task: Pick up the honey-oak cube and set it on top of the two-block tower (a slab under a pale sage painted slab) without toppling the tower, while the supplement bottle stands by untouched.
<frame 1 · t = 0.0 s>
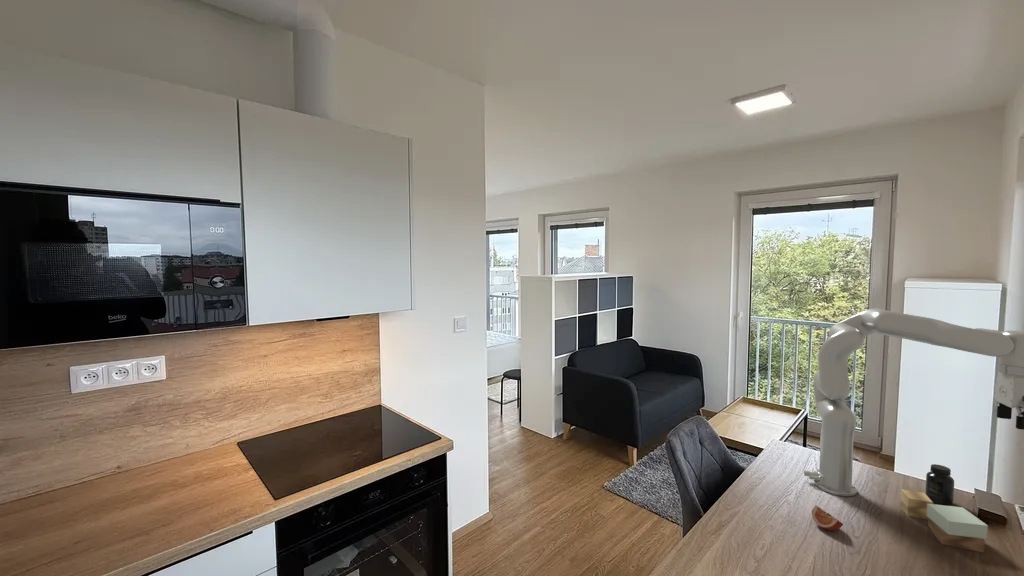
hand: (1013, 423, 133), 31 cm above the table, fingers open, 9 cm apart
fruit slice: (826, 528, 132), on the table
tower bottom: (954, 540, 126), on the table, touching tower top
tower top: (955, 526, 126), point 4 cm above the table, touching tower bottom
oak cube: (915, 513, 139), on the table
supplement bottle: (938, 501, 146), on the table
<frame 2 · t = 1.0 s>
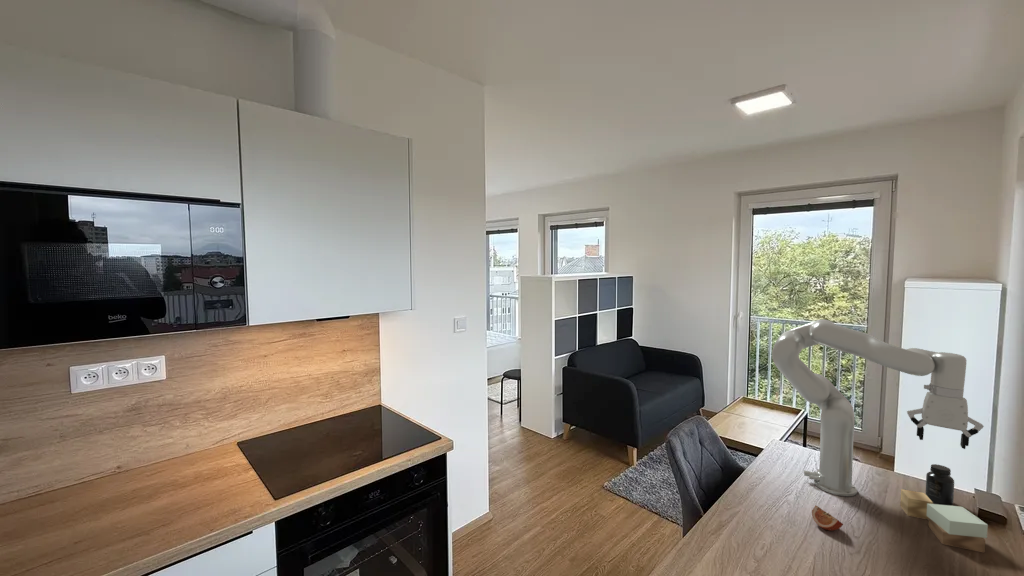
hand: (941, 442, 137), 24 cm above the table, fingers open, 9 cm apart
nothing on the table moved.
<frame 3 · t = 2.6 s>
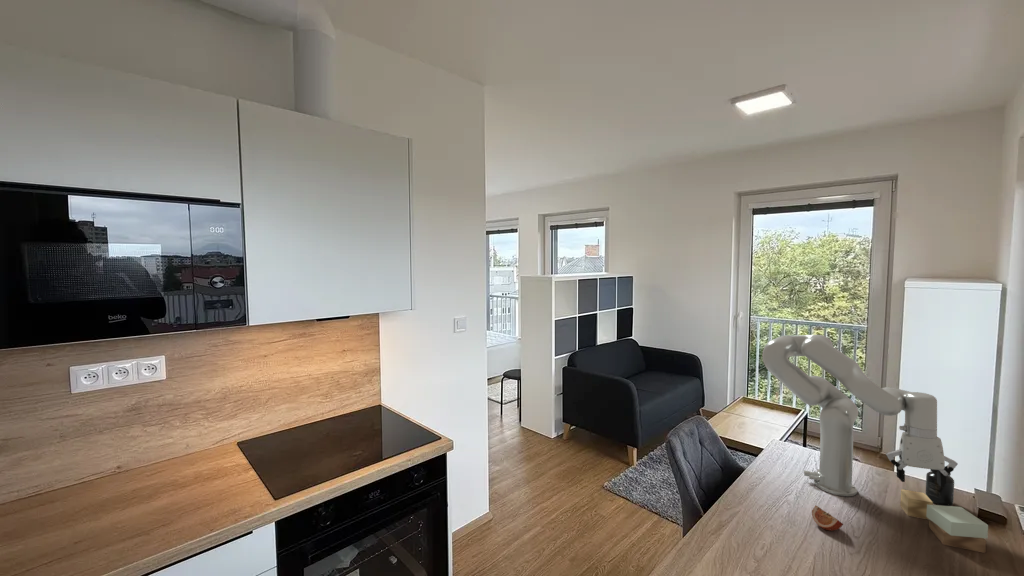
hand: (920, 482, 138), 11 cm above the table, fingers open, 9 cm apart
nothing on the table moved.
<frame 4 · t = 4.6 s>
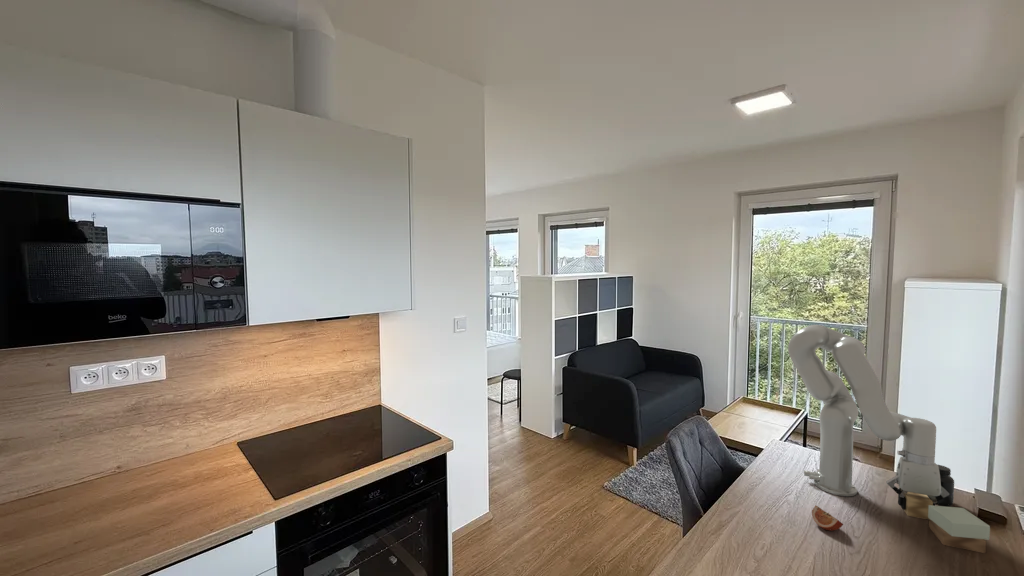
hand: (915, 509, 139), 1 cm above the table, fingers closed on oak cube, 6 cm apart
oak cube: (915, 512, 139), on the table, touching gripper
everything else where it was.
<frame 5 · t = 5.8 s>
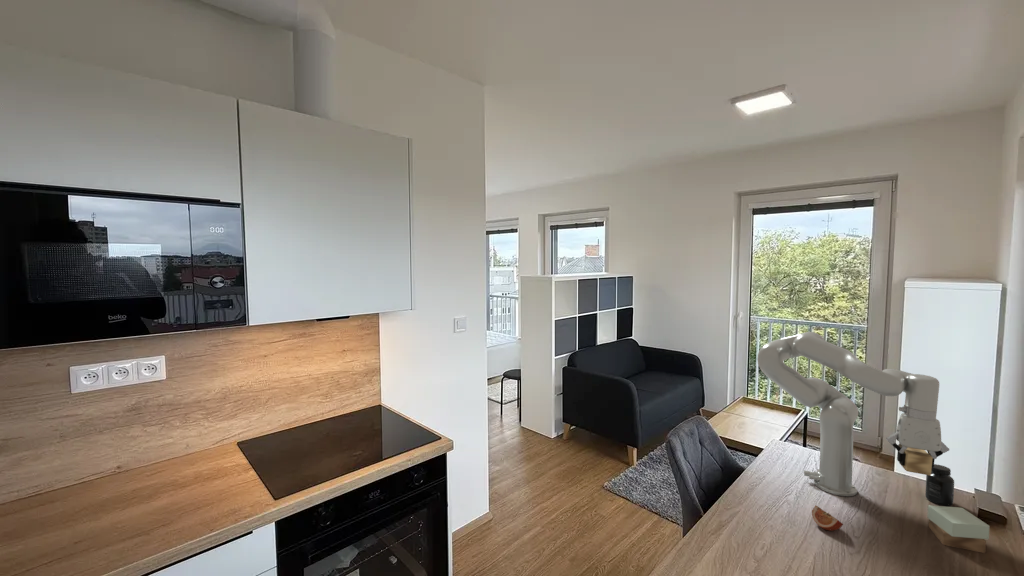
hand: (914, 465, 139), 16 cm above the table, fingers closed on oak cube, 6 cm apart
oak cube: (914, 469, 139), point 15 cm above the table, touching gripper
everything else where it was.
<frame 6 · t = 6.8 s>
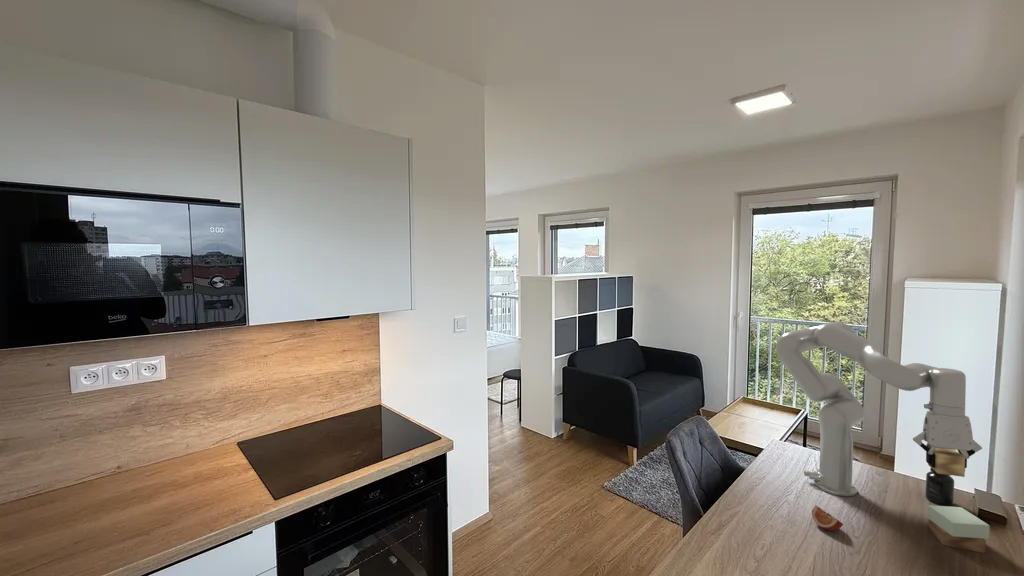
hand: (945, 467, 129), 20 cm above the table, fingers closed on oak cube, 6 cm apart
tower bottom: (955, 540, 126), on the table
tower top: (956, 527, 126), point 4 cm above the table
oak cube: (945, 470, 129), point 19 cm above the table, touching gripper
everything else where it was.
when the fingers open (10 cm above the table, at t = 9.8 s): oak cube drops 1 cm, resting on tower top.
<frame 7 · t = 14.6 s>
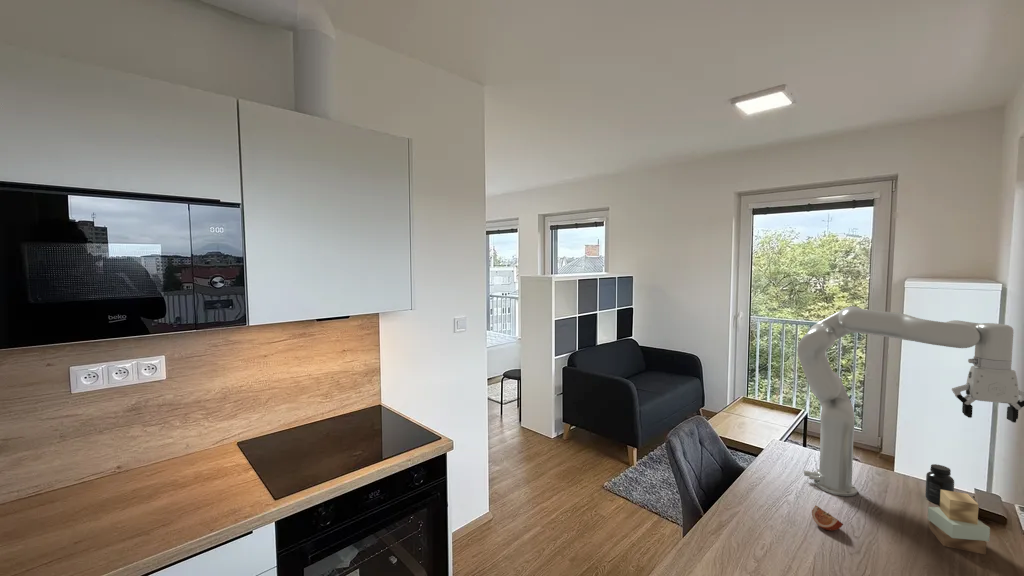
hand: (989, 418, 130), 34 cm above the table, fingers open, 9 cm apart
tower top: (957, 529, 125), point 4 cm above the table, touching oak cube
oak cube: (957, 516, 125), point 8 cm above the table, touching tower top
everything else where it was.
at the end: oak cube inside the target area on the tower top (0.3 cm from its centre), point 4.0 cm above the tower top's base; oak cube tilted 0°; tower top 0.3 cm off-centre on the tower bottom, point 4.0 cm above the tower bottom's base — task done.
